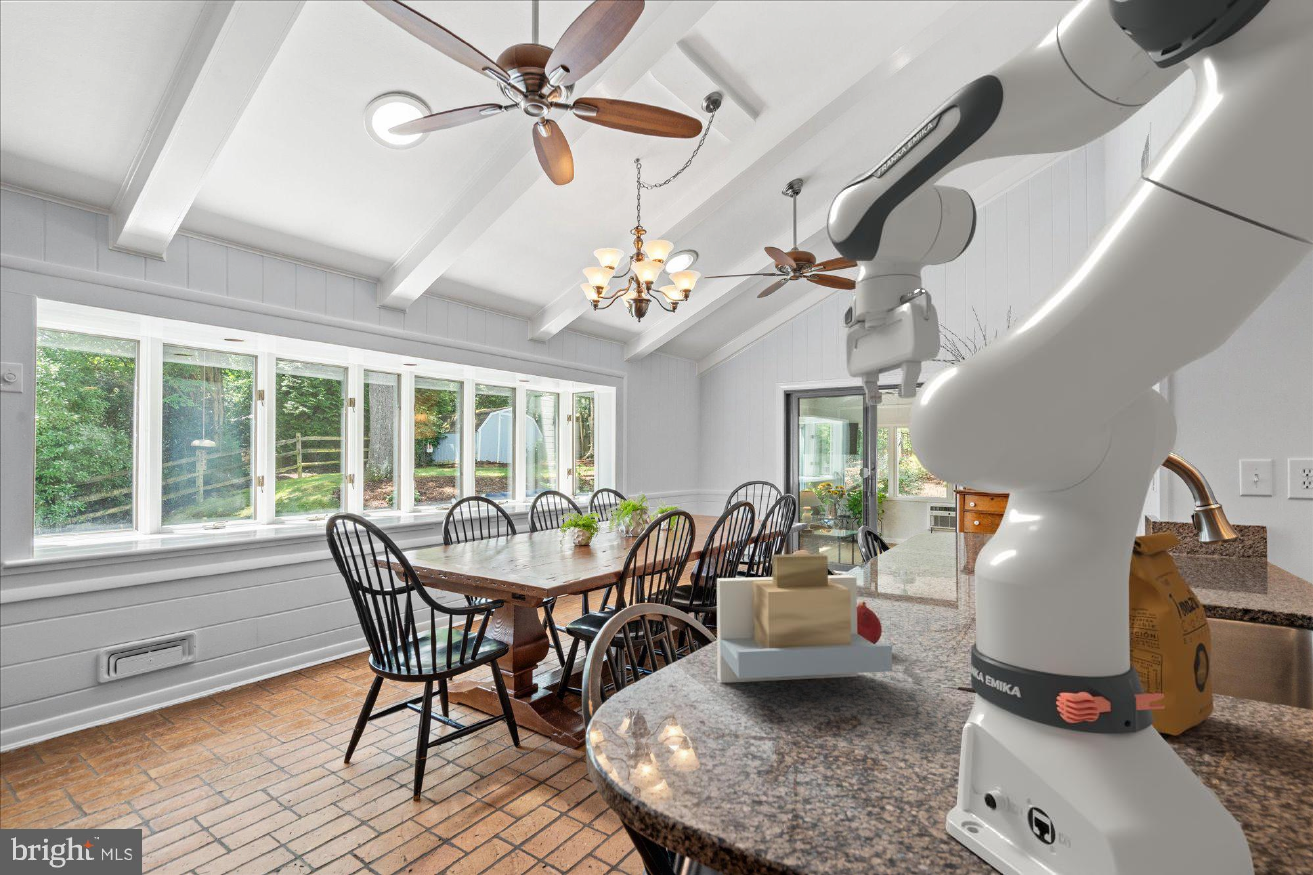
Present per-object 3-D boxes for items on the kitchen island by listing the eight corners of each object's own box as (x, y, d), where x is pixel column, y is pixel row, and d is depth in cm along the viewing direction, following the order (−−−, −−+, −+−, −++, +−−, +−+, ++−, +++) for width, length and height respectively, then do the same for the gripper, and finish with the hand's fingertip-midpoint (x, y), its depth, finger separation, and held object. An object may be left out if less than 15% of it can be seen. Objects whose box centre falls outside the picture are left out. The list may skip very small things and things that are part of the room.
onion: (884, 658, 97) (883, 606, 98) (846, 655, 99) (845, 604, 99) (879, 647, 103) (878, 598, 103) (842, 645, 104) (842, 596, 105)
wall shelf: (892, 703, 79) (891, 591, 80) (739, 711, 77) (738, 596, 77) (851, 671, 91) (850, 574, 92) (717, 677, 89) (716, 578, 89)
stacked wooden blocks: (851, 651, 81) (849, 558, 81) (768, 655, 80) (767, 560, 80) (829, 636, 88) (828, 550, 88) (753, 639, 87) (752, 552, 87)
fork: (1037, 708, 78) (1037, 692, 78) (902, 685, 87) (902, 670, 87) (1037, 701, 81) (1036, 685, 81) (905, 679, 89) (905, 665, 89)
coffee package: (1232, 725, 72) (1225, 534, 73) (1179, 749, 66) (1172, 541, 67) (1134, 697, 81) (1129, 526, 82) (1080, 715, 75) (1074, 532, 76)
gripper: (952, 284, 79) (954, 393, 78) (875, 320, 99) (877, 407, 99) (905, 282, 78) (907, 393, 77) (837, 319, 98) (838, 407, 98)
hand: (889, 401), depth 88 cm, fingers open, 8 cm apart
